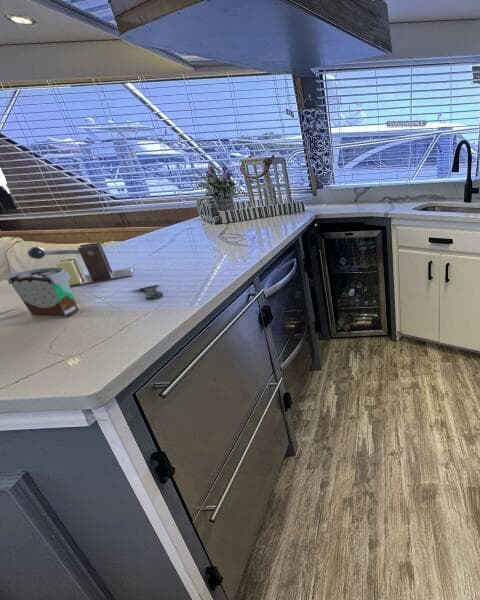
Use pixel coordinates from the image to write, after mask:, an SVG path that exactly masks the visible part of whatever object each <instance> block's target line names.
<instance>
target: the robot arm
mask: <svg viewBox="0 0 480 600" xmlns="http://www.w3.org/2000/svg"><path fill="white" fill-rule="evenodd" d="M7 183H8V182H7V180H6V177H5V174H4V173H3V171H2V168H1V167H0V214H2V213H5V212H6V211H13V210H18V206H17V204H16V202H15V200H14V198H13V196H12V194H11V192H10V190H9V188H8V187H7V185H8V184H7Z"/></svg>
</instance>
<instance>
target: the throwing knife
mask: <svg viewBox="0 0 480 600" xmlns="http://www.w3.org/2000/svg"><path fill="white" fill-rule="evenodd" d="M158 287H159V285H158V284H155V285H150V286H144V287H140V288H138V291H141V292H145V293H146V296H145V298H146V300H156V299H159V298H162V297H163V296H164V294H163V292H162V291H158V290H157V288H158Z"/></svg>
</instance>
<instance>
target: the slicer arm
mask: <svg viewBox="0 0 480 600" xmlns="http://www.w3.org/2000/svg"><path fill="white" fill-rule="evenodd" d="M27 255H28V257H30V258H31V259H34V260H41V259H43V258H45V256H51V255H52V256H55V255H56V256H57V255H58V256H59V255H81V254H80V252H79V250H78V249H56V250H55V249H54V250H53V249H51V250H49V249H48V250H45V249H44V248H42V247H38V246H33V247H30V248H29V249H28V250H27Z"/></svg>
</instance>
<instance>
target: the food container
mask: <svg viewBox="0 0 480 600" xmlns="http://www.w3.org/2000/svg"><path fill="white" fill-rule="evenodd" d="M68 279H70V276H69V274H68V273H67V272H66V271H64V270H63V268H58V267H45V268H37V269H29V270H23V271H18V272H14V273H10V274H7V275H6V280H7V283H8V285H11V286H12V287H13V289H14V290H15V291H16V294H17V295H18V297H19V298H20V299H21V301H22V302H23V304H24V306H25V307H26V309H27V311H28V312H29V314H30V316H32V317H35V318H63V319H66V318H69V317H71V316H74V315H75V314H76V313H78V311H79V309H78V306H77V302H76V300H75V297H74V294H73V292H72V291H73V290H72V287H71V288H70V286H69V283H68Z"/></svg>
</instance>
